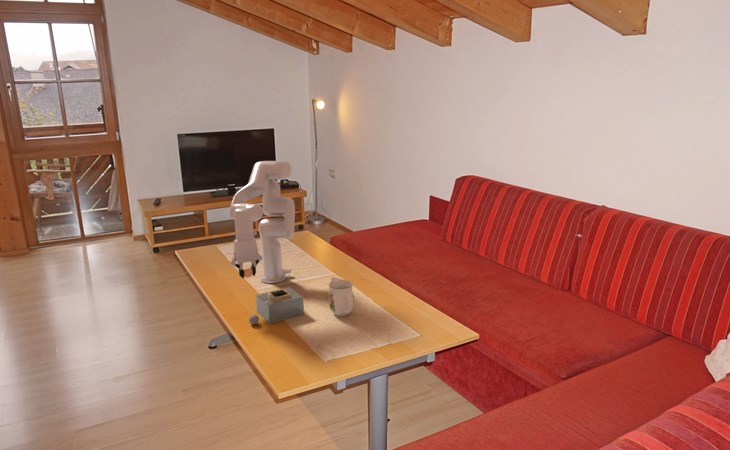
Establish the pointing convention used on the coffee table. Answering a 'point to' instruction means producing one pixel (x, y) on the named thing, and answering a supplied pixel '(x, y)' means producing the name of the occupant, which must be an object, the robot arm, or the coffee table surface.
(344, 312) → the pitcher
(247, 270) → the bead
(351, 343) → the coffee table surface
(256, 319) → the bead
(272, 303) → the grey box with opening
